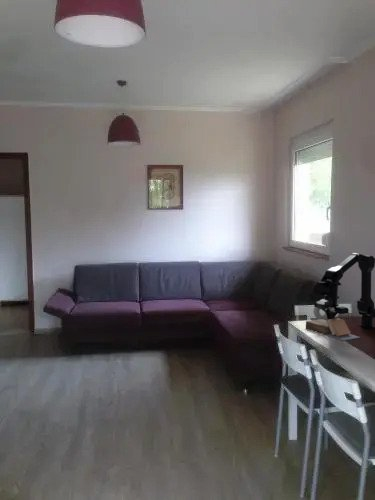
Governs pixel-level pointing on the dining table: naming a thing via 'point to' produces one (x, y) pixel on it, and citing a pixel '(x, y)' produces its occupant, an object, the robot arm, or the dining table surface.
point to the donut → (318, 315)
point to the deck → (318, 326)
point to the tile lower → (330, 324)
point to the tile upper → (340, 328)
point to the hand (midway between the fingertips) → (330, 323)
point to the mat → (343, 337)
